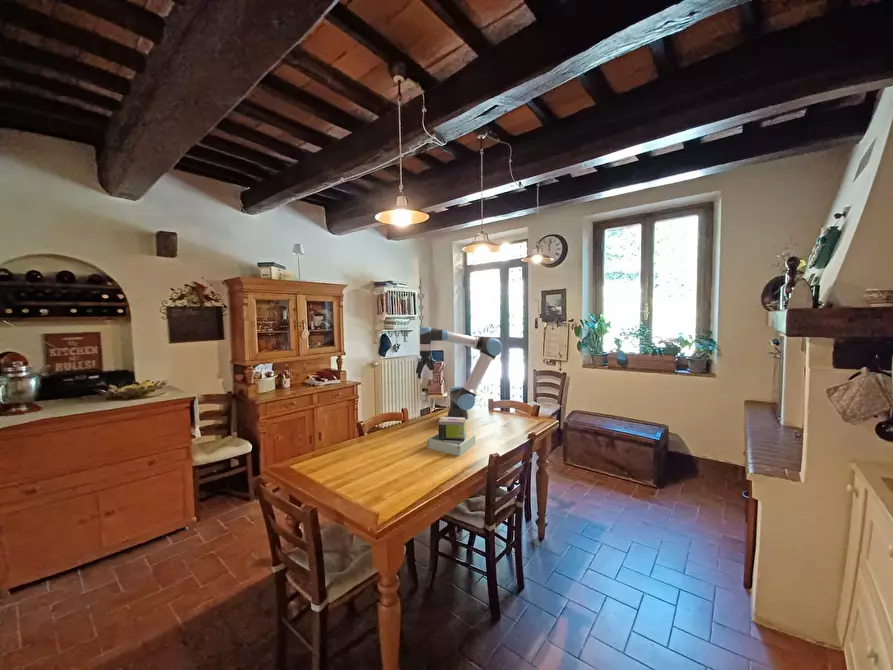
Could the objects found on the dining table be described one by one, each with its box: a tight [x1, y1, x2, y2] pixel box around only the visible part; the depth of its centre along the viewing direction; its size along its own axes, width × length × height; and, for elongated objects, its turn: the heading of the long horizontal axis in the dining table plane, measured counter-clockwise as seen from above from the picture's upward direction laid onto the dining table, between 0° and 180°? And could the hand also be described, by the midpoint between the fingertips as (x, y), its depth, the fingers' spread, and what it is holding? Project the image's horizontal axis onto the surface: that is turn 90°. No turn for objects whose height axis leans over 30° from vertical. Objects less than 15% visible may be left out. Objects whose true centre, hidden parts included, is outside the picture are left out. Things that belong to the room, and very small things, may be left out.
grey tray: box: [427, 432, 476, 457], centre depth 214 cm, size 20×21×6 cm
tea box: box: [437, 416, 467, 445], centre depth 215 cm, size 15×10×15 cm
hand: (425, 381), depth 246 cm, fingers open, 13 cm apart
